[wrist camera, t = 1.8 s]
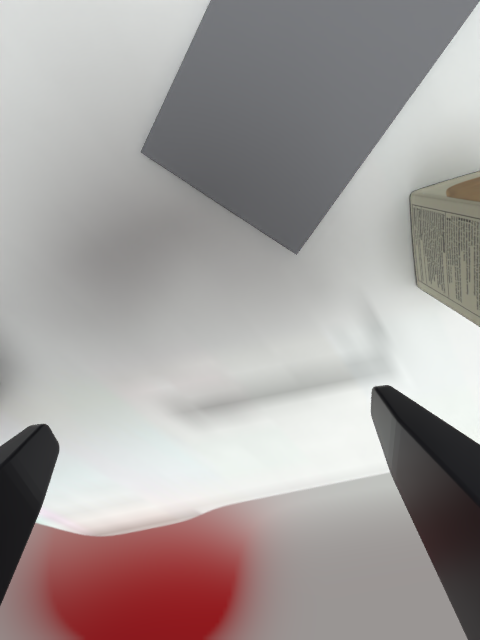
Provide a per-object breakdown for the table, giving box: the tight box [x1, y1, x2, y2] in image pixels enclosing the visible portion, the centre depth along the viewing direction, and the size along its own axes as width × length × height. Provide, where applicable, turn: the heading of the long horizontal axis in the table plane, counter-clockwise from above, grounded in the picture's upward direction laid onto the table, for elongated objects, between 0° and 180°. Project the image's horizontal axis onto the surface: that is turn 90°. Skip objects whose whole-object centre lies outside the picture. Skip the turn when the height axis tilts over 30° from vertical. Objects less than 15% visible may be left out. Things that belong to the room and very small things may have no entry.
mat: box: [141, 0, 480, 255], centre depth 16 cm, size 14×10×1 cm
